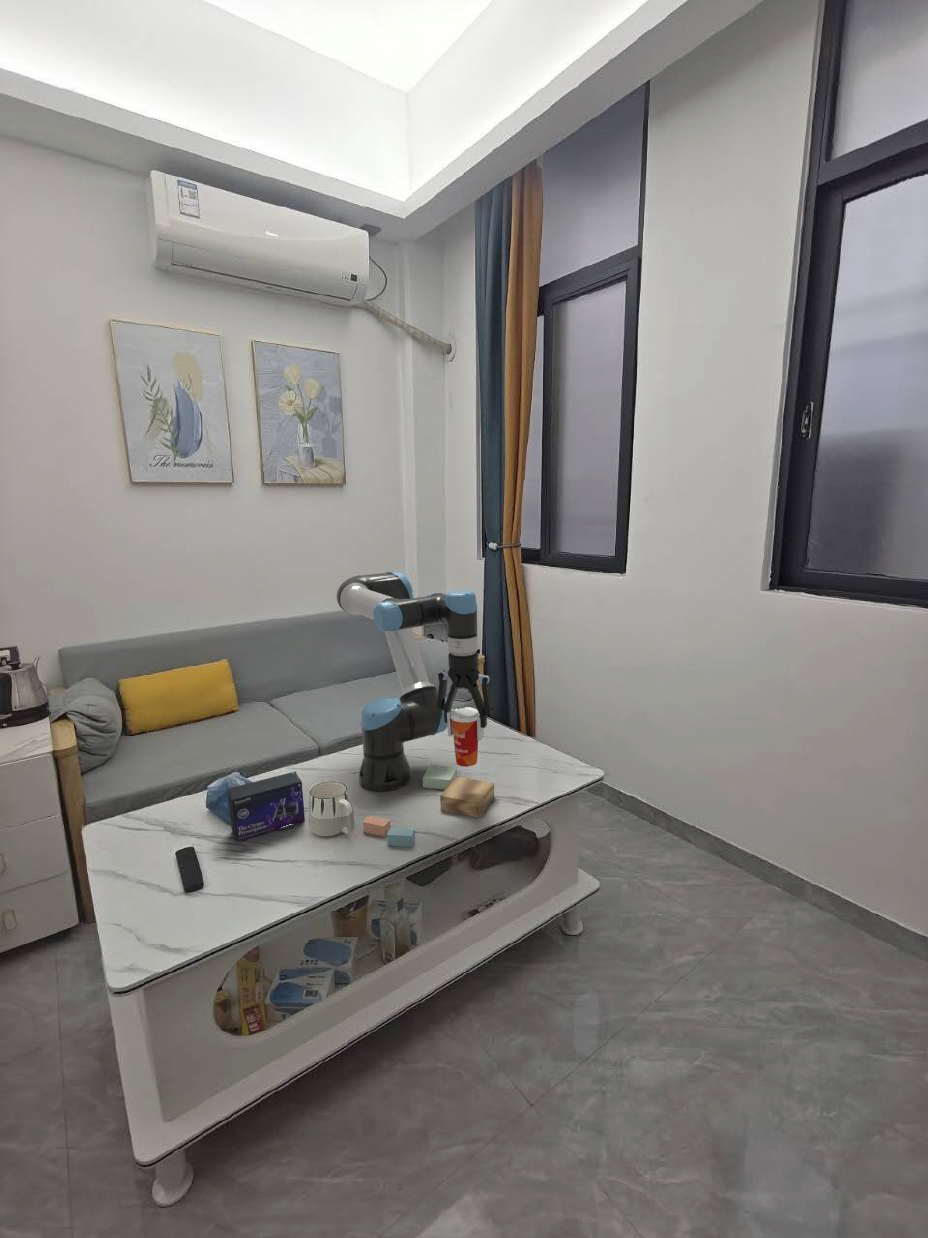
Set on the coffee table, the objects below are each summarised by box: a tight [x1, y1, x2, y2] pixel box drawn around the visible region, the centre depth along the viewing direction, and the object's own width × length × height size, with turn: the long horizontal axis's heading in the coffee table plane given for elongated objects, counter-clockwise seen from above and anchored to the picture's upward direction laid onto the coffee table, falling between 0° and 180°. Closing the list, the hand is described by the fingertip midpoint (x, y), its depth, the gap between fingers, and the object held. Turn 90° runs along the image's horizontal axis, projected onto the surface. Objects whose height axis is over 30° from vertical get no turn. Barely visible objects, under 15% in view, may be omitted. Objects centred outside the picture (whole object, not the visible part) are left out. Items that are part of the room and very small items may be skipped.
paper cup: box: [451, 706, 479, 768], centre depth 150 cm, size 8×8×14 cm
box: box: [226, 771, 306, 843], centre depth 145 cm, size 17×7×12 cm, turn 121°
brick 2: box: [386, 827, 416, 848], centre depth 138 cm, size 6×3×3 cm, turn 82°
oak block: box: [439, 776, 495, 818], centre depth 154 cm, size 11×11×4 cm
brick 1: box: [362, 815, 392, 837], centre depth 143 cm, size 6×3×3 cm, turn 67°
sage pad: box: [422, 764, 458, 790], centre depth 166 cm, size 8×8×3 cm
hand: (465, 736), depth 150 cm, fingers closed on paper cup, 8 cm apart
